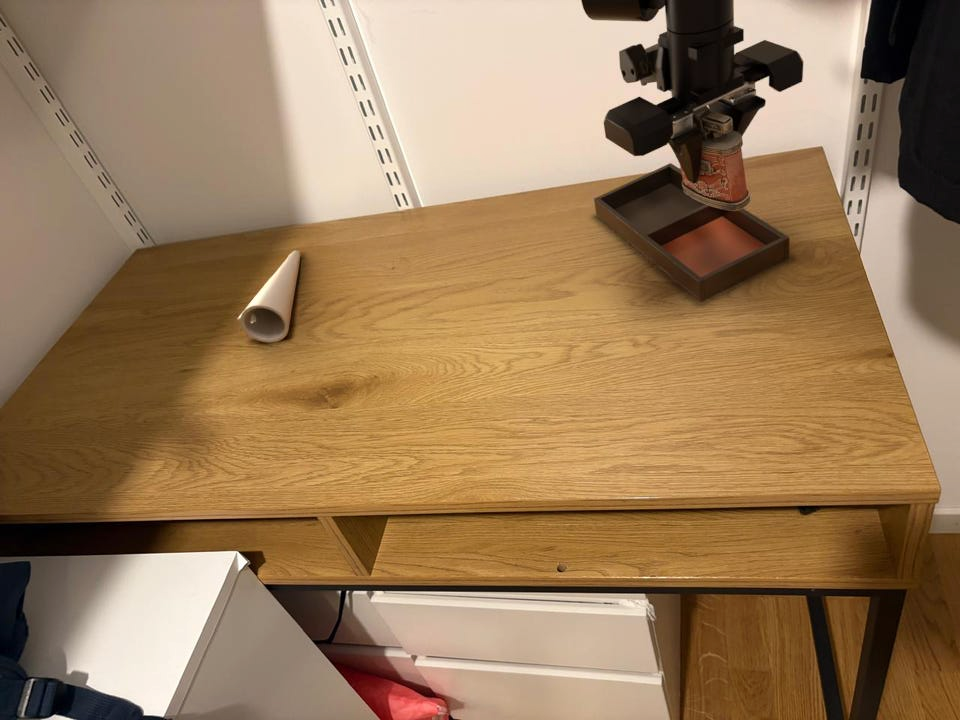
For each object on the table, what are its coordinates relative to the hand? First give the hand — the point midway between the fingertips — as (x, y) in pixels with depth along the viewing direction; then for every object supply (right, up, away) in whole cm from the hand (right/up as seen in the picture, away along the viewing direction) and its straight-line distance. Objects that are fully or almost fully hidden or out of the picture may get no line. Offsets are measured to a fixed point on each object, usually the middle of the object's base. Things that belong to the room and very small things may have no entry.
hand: (706, 175), depth 76 cm
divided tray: (+2, -4, +14) cm, 15 cm away
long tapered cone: (-49, -10, +26) cm, 56 cm away
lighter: (+2, -2, +2) cm, 3 cm away
